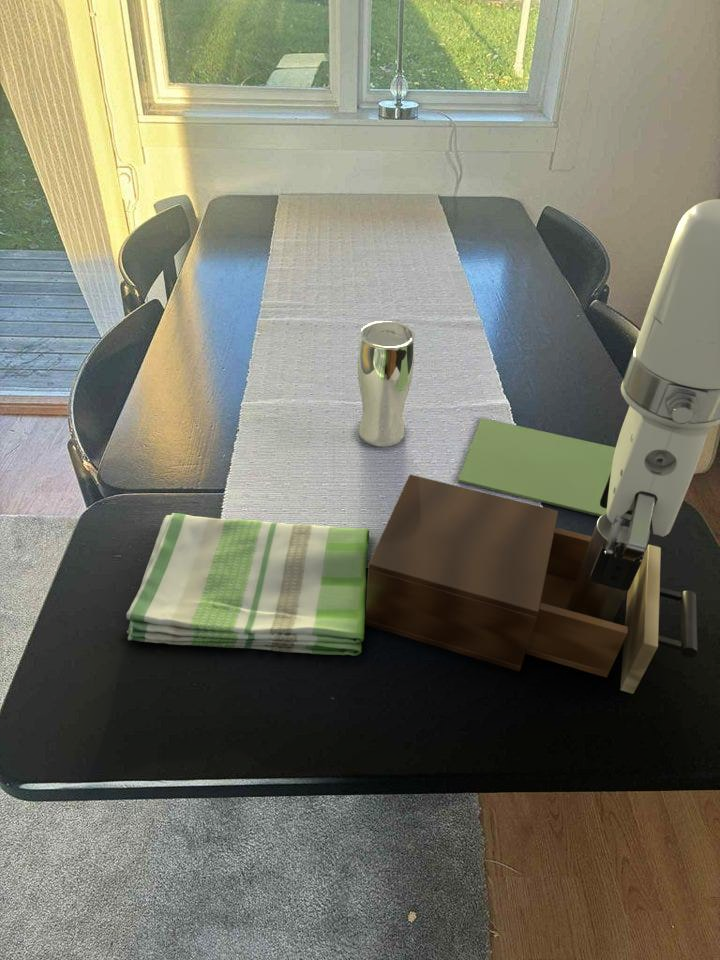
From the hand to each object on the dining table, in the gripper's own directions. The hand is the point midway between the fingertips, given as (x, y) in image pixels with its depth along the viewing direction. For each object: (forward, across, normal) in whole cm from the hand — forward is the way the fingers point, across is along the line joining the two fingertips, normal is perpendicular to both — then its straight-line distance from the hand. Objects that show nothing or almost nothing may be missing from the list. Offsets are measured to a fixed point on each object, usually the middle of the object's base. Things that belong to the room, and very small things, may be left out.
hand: (612, 544), depth 62 cm
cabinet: (+13, 0, +12) cm, 18 cm away
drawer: (+12, 0, 0) cm, 12 cm away
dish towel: (+13, -6, +32) cm, 36 cm away
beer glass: (+13, +24, +28) cm, 40 cm away
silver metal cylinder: (+11, 0, 0) cm, 11 cm away
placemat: (+13, +25, +6) cm, 29 cm away
